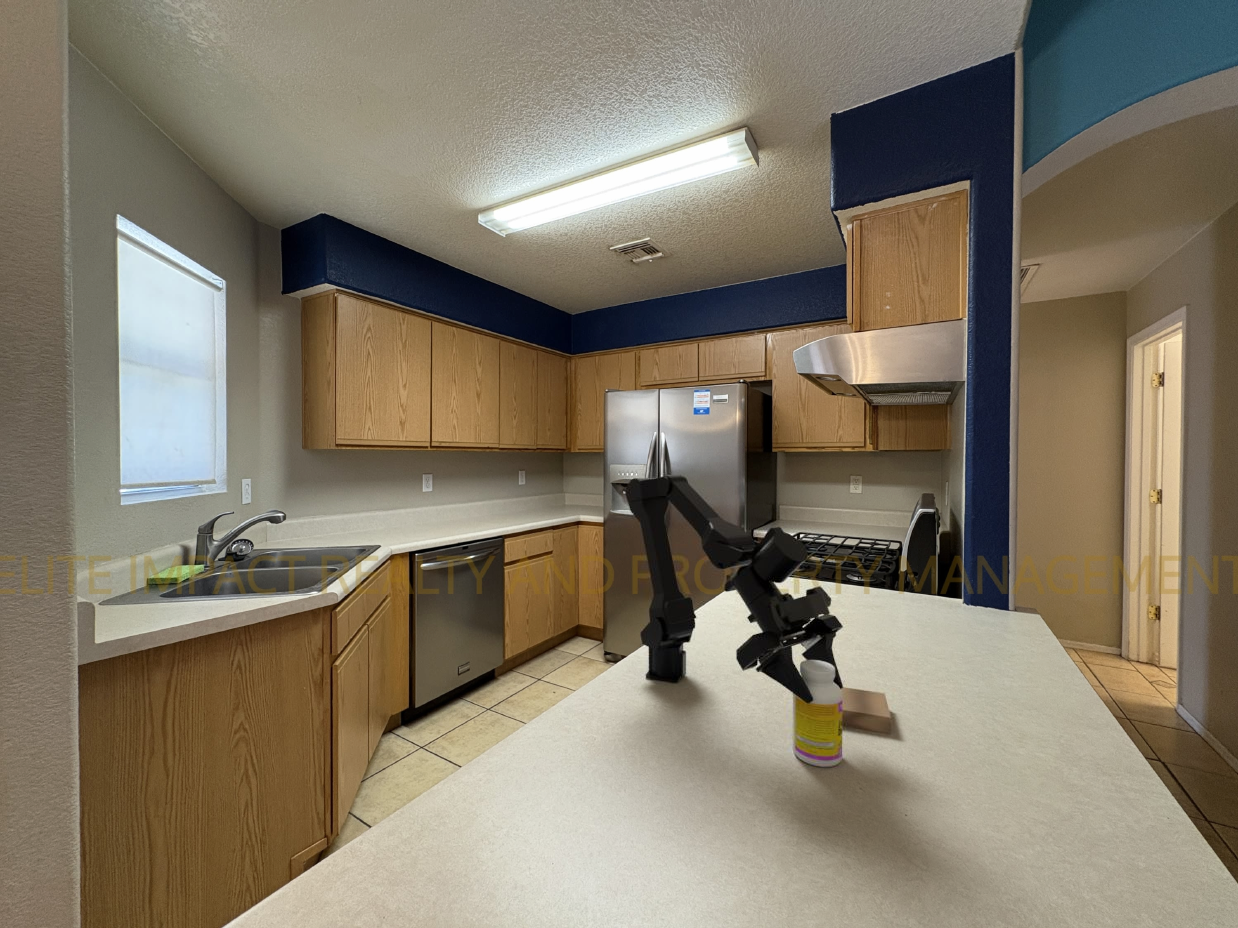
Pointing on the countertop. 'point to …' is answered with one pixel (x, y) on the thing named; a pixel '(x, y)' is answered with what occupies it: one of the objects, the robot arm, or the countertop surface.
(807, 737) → the supplement bottle
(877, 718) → the walnut block
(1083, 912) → the countertop surface
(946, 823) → the countertop surface
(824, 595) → the robot arm
